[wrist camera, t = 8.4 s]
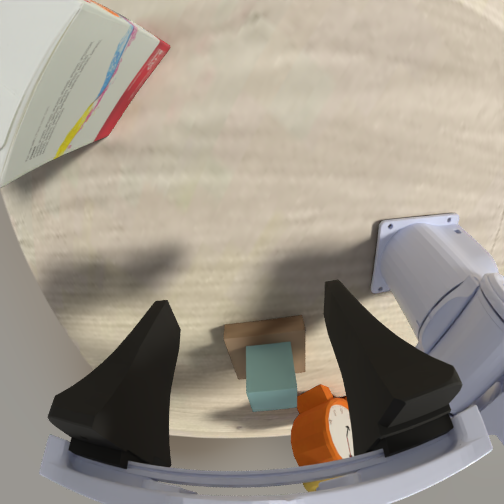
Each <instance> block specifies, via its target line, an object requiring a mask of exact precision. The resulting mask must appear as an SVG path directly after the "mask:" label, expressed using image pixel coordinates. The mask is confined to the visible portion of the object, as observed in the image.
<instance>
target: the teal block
mask: <svg viewBox="0 0 504 504" xmlns="http://www.w3.org/2000/svg"><path fill="white" fill-rule="evenodd" d="M246 393H247V396H248V399H249V402H250V405H251V408H252V411H253V412H256V411H268V410H278V409H287V408H295V407H297V383H296V376H295V369H294V362H293V355H292V349H291V342H282V343H273V344H264V345H254V346H246Z"/></svg>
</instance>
